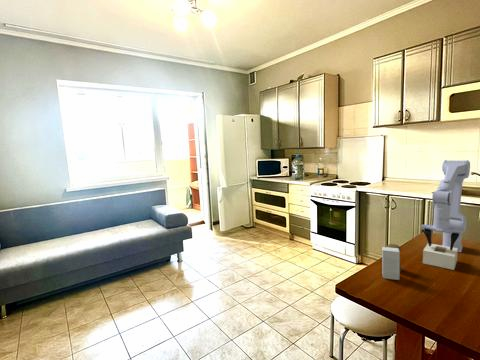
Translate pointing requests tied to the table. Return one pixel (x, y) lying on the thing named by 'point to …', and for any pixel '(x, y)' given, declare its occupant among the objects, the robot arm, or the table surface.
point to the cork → (394, 247)
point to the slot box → (440, 256)
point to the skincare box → (390, 263)
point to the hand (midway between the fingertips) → (440, 247)
